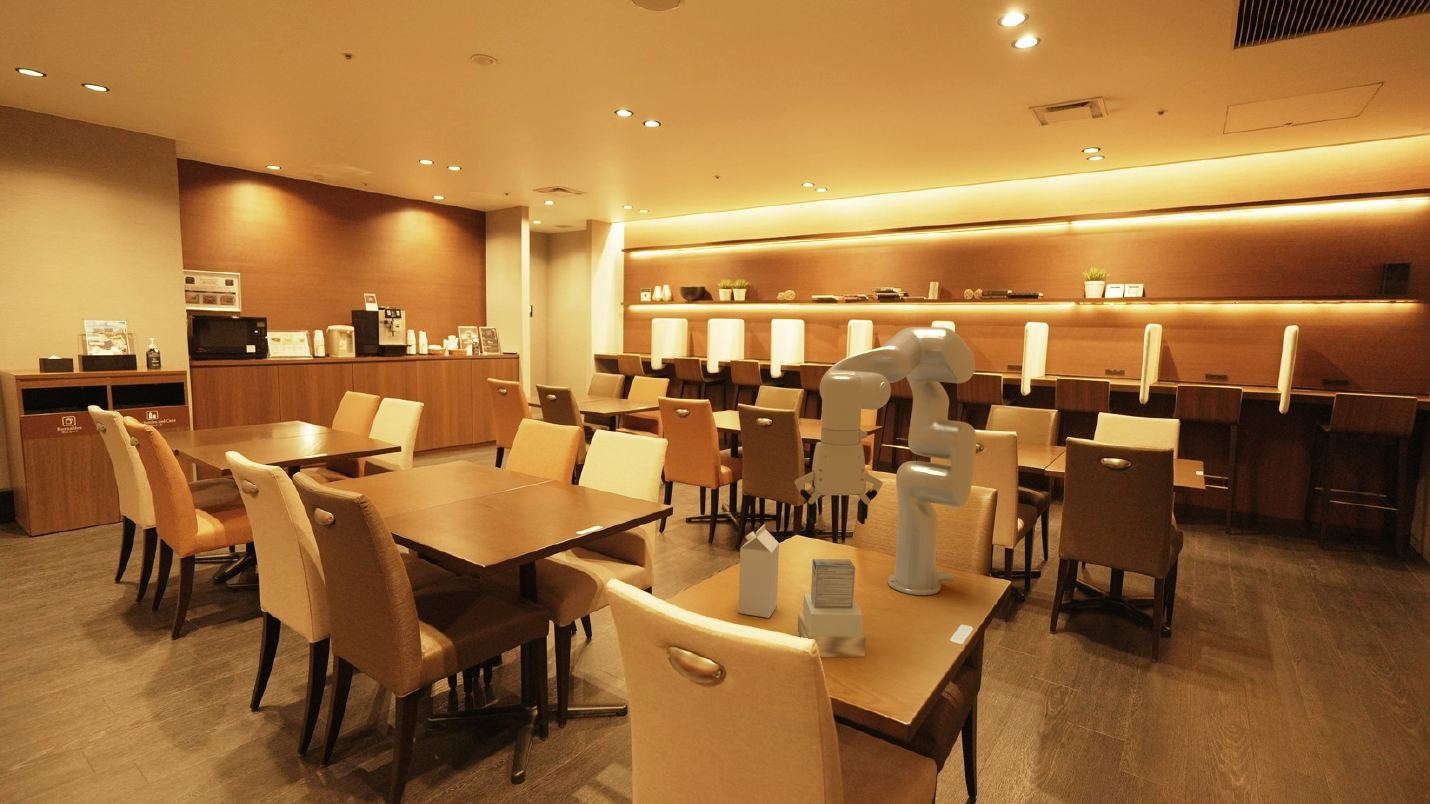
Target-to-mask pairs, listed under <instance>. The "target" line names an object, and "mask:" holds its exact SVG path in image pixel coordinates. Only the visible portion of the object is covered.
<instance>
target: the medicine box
mask: <svg viewBox="0 0 1430 804" xmlns="http://www.w3.org/2000/svg"><path fill="white" fill-rule="evenodd" d="M811 565H812V567H811V585H810V586H811V589H810V592H811V593H810V594H811V599H812V602H813V605H814V607H842V608H853V601H854V600H855V598H854V596H855V595H854V594H855V581H856V579H855V578H856V567H855V564H854V563H853V562H852V561H851V560H850V559H845V558H844V559H843V558H842V559H841V558H813V559H812V564H811Z"/></svg>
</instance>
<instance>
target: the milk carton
mask: <svg viewBox="0 0 1430 804" xmlns="http://www.w3.org/2000/svg"><path fill="white" fill-rule="evenodd" d="M745 539H746V540H747V541H746V542H745V543H744V544H743V545H742V546H741V547H740V554H739V556H740V557H739V583H738V584H739V585H738V586H739V587H738V589H739V590H738V611H737V612H738V614H743V615H748V616H749V615H750V616H754V617H760V618H767V619H769V618H771V616H772V614H773V613H774V612H775V609H776V608H777V605H778V581H779V557H780V556H779V555H780V553H779V552H780V542H778V541H777V539H775V537H774V536H773V535H772V534H771V533H770V532H769V531H768V530H767V529H766V524H765V523H764V524H763V525H762V526H761V527H760V528H758V530H757V531H756V532H754V531H751V532H750V533H748V534H747V535H746V536H745Z"/></svg>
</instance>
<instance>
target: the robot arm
mask: <svg viewBox="0 0 1430 804" xmlns="http://www.w3.org/2000/svg"><path fill="white" fill-rule="evenodd" d="M975 360H976V359H975V356H974V353H973V352H972V350H971V348H970V347H969V346H968V345H967V344H966V342H965V341H964V340H963V338H961V336H960V335H959V334H958V333H956V331H954V330H952V329H951V328H948V327H938V326H937V327H936V326H935V327H933V326H932V327H931V326H911V327H905V328H902V329H901V330H899V331H898V332H897V333H896V334H894V336H892V337H891V338H890V339H889V340H887V341H886V342H884V344H882V345H881V346H880V347H878V348H873V349H870V350H866V351H864V352H863V351H862V352H860V353H857V354H854V355H850V356H847V357H845V358H843V359H840V360H839V361H837V362H836V363H835V364H834V365H832V366H831V367H829V368H828V370H826V371H825V373H824V375H822V378H821V380H820V384H819V395H820V397H821V400H822V401H821V402H822V403H821V426H820V427H821V428H820V441H818V442H816V444H815V448H814V452H813V459H812V465H811V466H812V468H811V472H809V473H807V474H804V475H802V476H801V477H797V478H796V479H795V480H794V484H795V486H796V488H797V490H798V492H799V494H800V496H801V497H802V498H803V499H804V500H805V501H806V502H807V514H806V515H807V519H809V521H810V522H811V524H812V525H816V524H817V517H818V505H817V503H816V501H817V500H818V499H819V498H820V497H821V496H858V498H859V500H858V501H857V514H856V515H857V516H856V517H857V521H858V522H859V523H860V524H861V525H865V524H866V523H865V522H866V520H867V519H868V513H869V512H868V511H869V505H870V503H871V501H872V500H873V499H875V498H876V497H877V495H878V492H879V491H880V490H881V488H882V486H883V482H882V480H880V479H879V478H877V477H875V476H872V475H871V474H869V473H867V472H866V461H865V452H864V446H863V444H862V443H861V442H862V440H864V439H868V431H863V430H862V428H861V423H862V422H861V421H862V418H861V417H862V410H870V411H871V410H879V409H881V408H883V407H884V406H885V405H886V404H887V403H888V401H889V400H890V399H891V398H890V397H891V393H892V387H891V384H893V383H896V382H900V381H902V380H903V379H905V378H906V379H907V382H908V384H909V387H910V389H911V391H912V392H911V393H912V409H911V416H910V417H911V418H910V424H909V429H908V438H907V439H908V443H907V444H908V448H909V450H910V452H912V453H913V454H915V455H917V456H922V457H925V458H926V457H927V458H934V459H940V460H941V459H942V460H947V461H949V462H950V465H947V464H946V465H945V464H940V463H934V462H928V461H919V460H910V461H906V462H903V463H902V464H901V465H900V466H898V469H897V472H896V475H895V482H896V491H897V502H898V503H897V504H898V506H897V507H898V513H897V530H896V531H897V532H896V547H895V549H896V550H895V566H894V573H893V574H891V575H889V576H888V577H887V583H888V585H889V586H890V587H891V588H892V589H894V590H896V591H898V592H901V593H905V594H909V595H915V596H916V595H917V596H929V595H935V594H937V593H938V592H940V590H941V583H942V582H944V581H945V582H954V580H955V574H954V573H953V572H951V573H950V572H945V570H938V569H936V561H937V560H936V557H937V545H938V544H937V542H938V528H939V520H938V514H937V513H936V512H937V511H936V510H935V508H934V506H933V505H932V504H936V505H941V506H947V507H953V508H955V507H956V508H959V507H963V506H965V505H966V503H967V502H968V501H969V498H970V495H971V489H972V482H973V475H974V468H975V461H976V452H977V443H978V442H977V434H976V430H975V428H974V427H973V426H972V425H971V424H969V423H968V422H964V421H958V420H949V419H948V418H949V417H948V415H949V407H950V398H949V396H948V393H947V391H946V390H945V388H944V386H943V385H942V384H941V383H952V384H963V383H967V382H968V381H969V380H970V379H971V378H972V377H973V375H974V373H975V369H976V361H975ZM809 482H810V484H811V488H812V489H811V490H810V491H809V492H808V491H807V490H806V489H805V485H806V484H807V483H809ZM866 482H868V483H870V484H872V486H871V488H870V489H869V490H868V491H867V492H865V491H866V484H867V483H866Z"/></svg>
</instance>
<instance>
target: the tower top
mask: <svg viewBox="0 0 1430 804" xmlns="http://www.w3.org/2000/svg"><path fill="white" fill-rule="evenodd" d="M802 614H803V616H804V619H805V622H806V625H807V628H808V631H809V634H810V636H822V637H862V632H863V623H864V622H863V621H864V620H863V619H864V617H863V612H862V611H861V609H860V607H859V606H858V603H857V602H856V600H855V599H854V601H853V608H842V607H814V605H813V602H812V599H811V593H803V609H802Z"/></svg>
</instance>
